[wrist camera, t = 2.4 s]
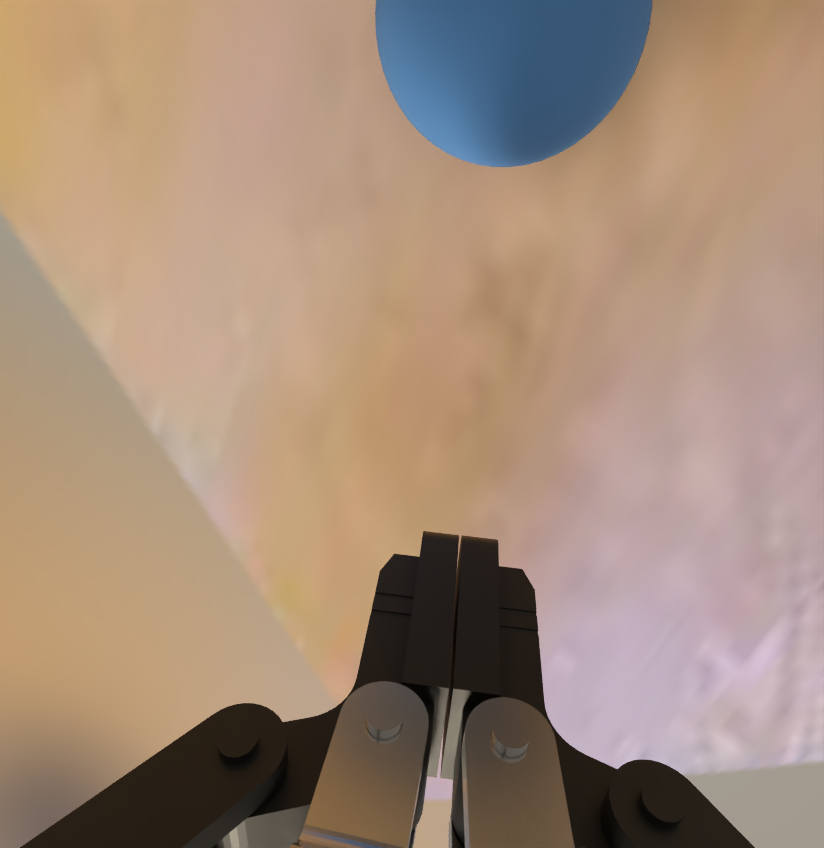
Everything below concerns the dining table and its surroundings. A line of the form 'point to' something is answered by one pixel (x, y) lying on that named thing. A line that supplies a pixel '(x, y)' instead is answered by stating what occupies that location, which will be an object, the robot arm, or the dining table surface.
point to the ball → (509, 71)
